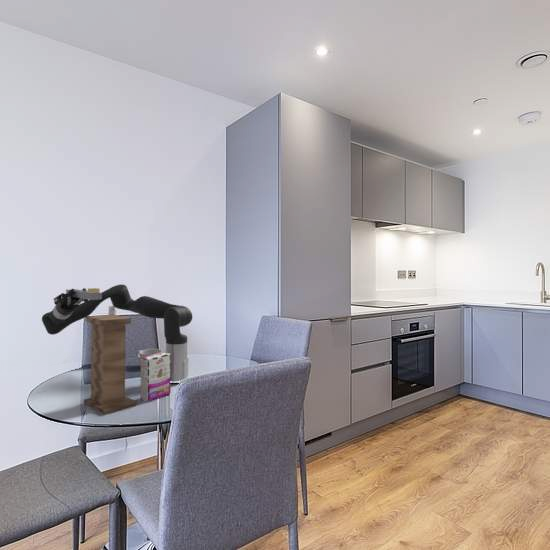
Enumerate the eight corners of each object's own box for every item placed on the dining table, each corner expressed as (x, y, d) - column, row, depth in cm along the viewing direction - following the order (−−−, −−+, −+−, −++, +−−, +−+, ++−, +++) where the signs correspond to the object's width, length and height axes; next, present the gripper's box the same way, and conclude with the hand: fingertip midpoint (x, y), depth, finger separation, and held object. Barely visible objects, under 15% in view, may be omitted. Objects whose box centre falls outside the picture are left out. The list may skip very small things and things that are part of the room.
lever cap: (66, 295, 162) (66, 285, 162) (76, 295, 165) (76, 285, 165) (91, 299, 146) (91, 289, 146) (101, 299, 149) (101, 288, 149)
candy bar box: (162, 391, 156) (162, 351, 155) (170, 394, 153) (171, 353, 153) (139, 399, 146) (139, 357, 146) (148, 402, 144) (148, 359, 143)
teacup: (166, 366, 195) (166, 350, 195) (148, 370, 186) (149, 354, 186) (147, 362, 203) (148, 347, 202) (130, 366, 194) (130, 350, 193)
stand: (83, 402, 142) (83, 316, 141) (114, 394, 151) (115, 314, 151) (104, 414, 131) (105, 321, 130) (136, 405, 140) (137, 318, 139)
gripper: (45, 301, 164) (59, 282, 154) (80, 299, 174) (94, 281, 164) (48, 317, 161) (62, 299, 151) (83, 314, 172) (98, 297, 162)
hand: (79, 290), depth 158 cm, fingers closed on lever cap, 4 cm apart
